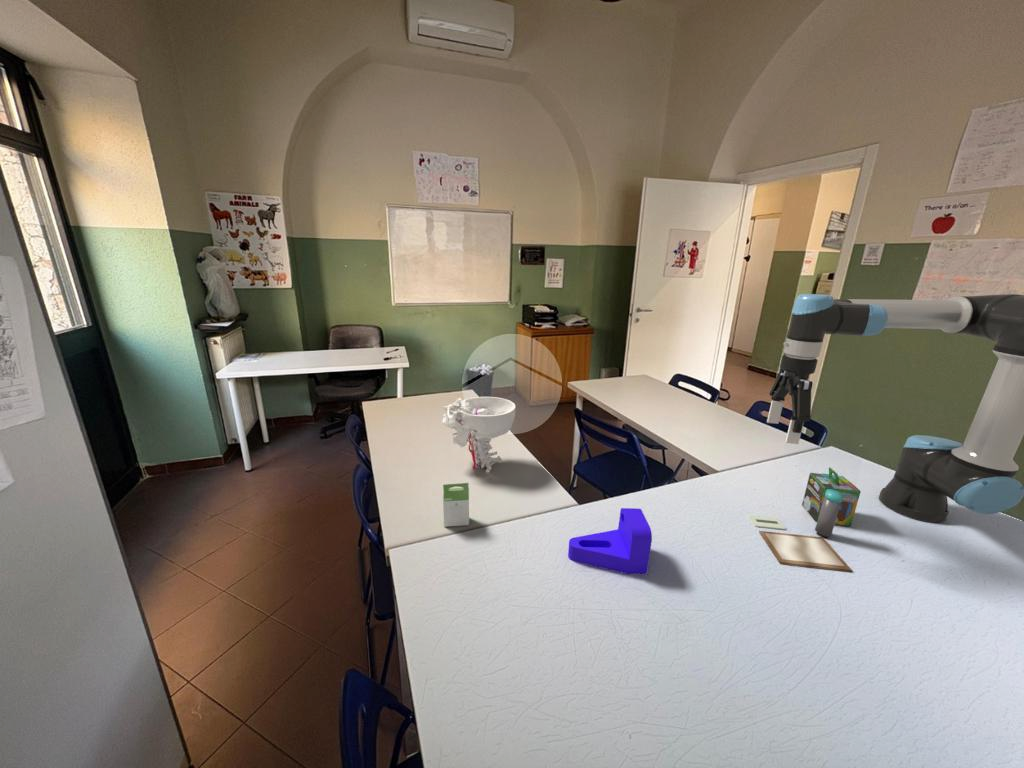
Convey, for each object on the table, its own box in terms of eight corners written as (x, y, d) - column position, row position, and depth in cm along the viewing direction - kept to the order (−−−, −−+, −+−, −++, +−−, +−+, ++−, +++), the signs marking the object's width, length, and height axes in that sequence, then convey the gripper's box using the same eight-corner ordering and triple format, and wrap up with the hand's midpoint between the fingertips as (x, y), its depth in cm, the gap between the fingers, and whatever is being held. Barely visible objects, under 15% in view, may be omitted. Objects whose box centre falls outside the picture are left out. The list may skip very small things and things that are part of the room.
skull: (510, 452, 153) (511, 395, 147) (517, 477, 136) (519, 414, 129) (444, 455, 150) (442, 397, 143) (442, 482, 132) (440, 417, 125)
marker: (825, 531, 112) (838, 489, 108) (833, 540, 108) (846, 497, 104) (811, 529, 112) (823, 488, 108) (818, 538, 109) (831, 496, 105)
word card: (777, 519, 117) (777, 517, 117) (785, 530, 112) (786, 528, 112) (747, 516, 118) (748, 514, 118) (755, 526, 113) (755, 525, 113)
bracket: (633, 543, 106) (639, 504, 102) (646, 574, 95) (652, 533, 92) (565, 541, 106) (568, 503, 102) (570, 573, 95) (574, 531, 92)
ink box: (469, 517, 115) (468, 475, 111) (469, 525, 111) (468, 483, 107) (444, 518, 114) (443, 476, 110) (444, 527, 110) (442, 484, 106)
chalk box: (851, 527, 114) (866, 481, 109) (814, 522, 116) (828, 477, 111) (834, 508, 122) (847, 465, 118) (800, 504, 124) (812, 461, 120)
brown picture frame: (822, 539, 109) (823, 537, 108) (851, 572, 97) (852, 569, 97) (758, 532, 111) (759, 530, 110) (779, 563, 99) (780, 561, 99)
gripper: (766, 345, 115) (752, 414, 121) (804, 367, 92) (783, 450, 98) (796, 347, 113) (779, 417, 120) (842, 369, 90) (818, 454, 97)
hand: (781, 432), depth 109 cm, fingers open, 13 cm apart
